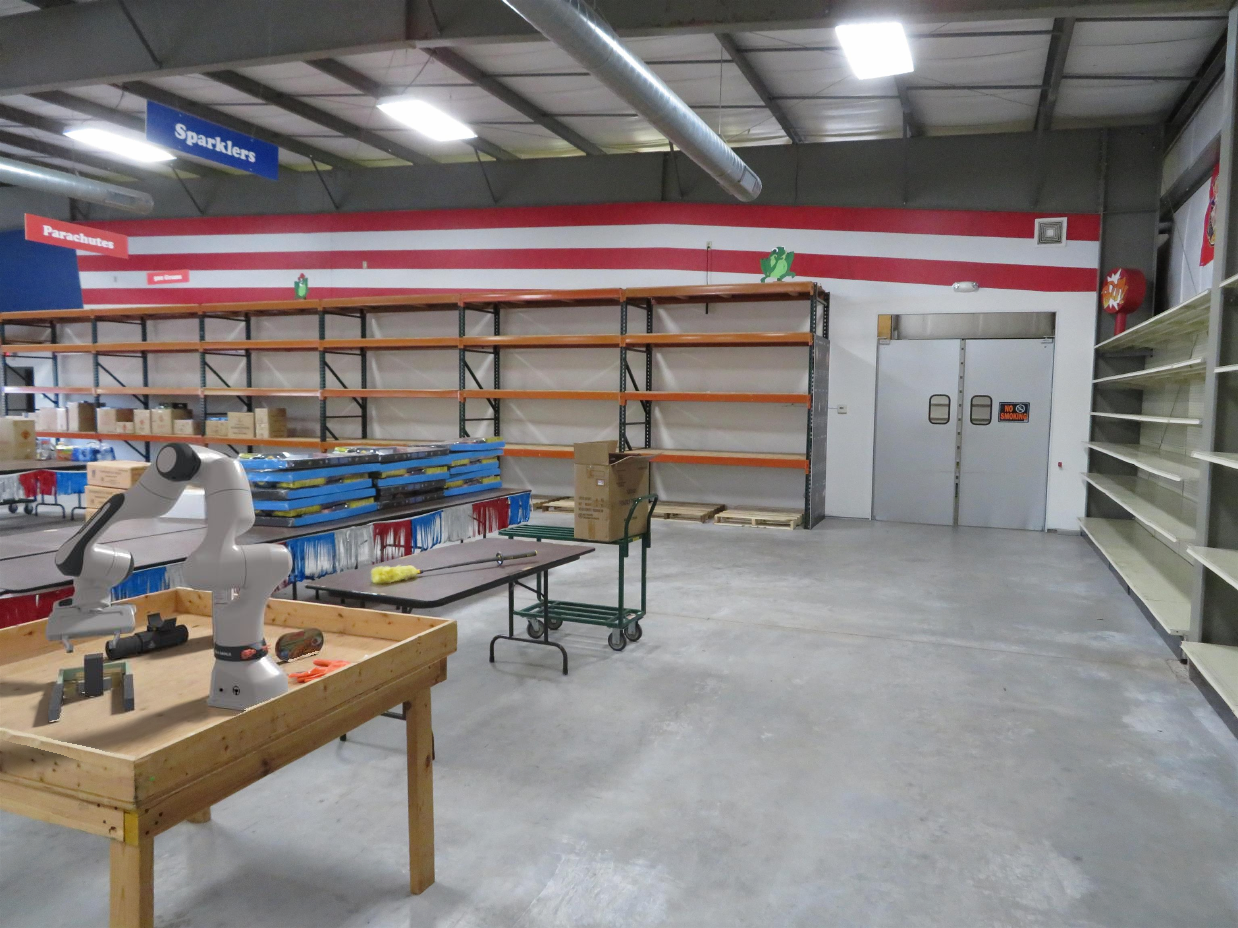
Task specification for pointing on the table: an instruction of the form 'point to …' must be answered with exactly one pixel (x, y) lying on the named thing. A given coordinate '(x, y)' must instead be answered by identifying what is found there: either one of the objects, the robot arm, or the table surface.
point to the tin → (299, 643)
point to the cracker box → (219, 605)
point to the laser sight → (150, 638)
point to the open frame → (72, 672)
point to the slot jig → (59, 693)
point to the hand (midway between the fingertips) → (91, 649)
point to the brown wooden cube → (113, 676)
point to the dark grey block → (94, 676)
